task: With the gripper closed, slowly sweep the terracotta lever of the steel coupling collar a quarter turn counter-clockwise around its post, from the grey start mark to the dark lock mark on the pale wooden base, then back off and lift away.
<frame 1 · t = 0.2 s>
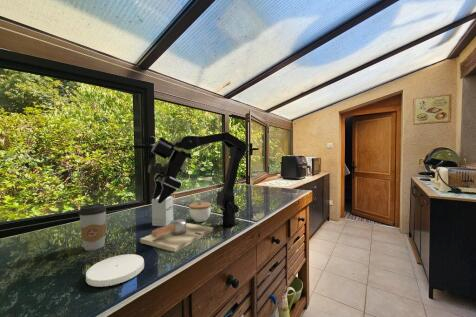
hand: (156, 200, 82), 15 cm above the counter, tool tilted 30°, fingers open, 9 cm apart
coffee cup: (94, 247, 78), on the counter
supplement box: (163, 224, 104), on the counter
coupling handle: (170, 230, 82), point 4 cm above the counter, hinge at 0.0°
lidded jar: (200, 220, 108), on the counter
plastic lid: (116, 275, 60), on the counter
coupling base: (178, 236, 86), on the counter
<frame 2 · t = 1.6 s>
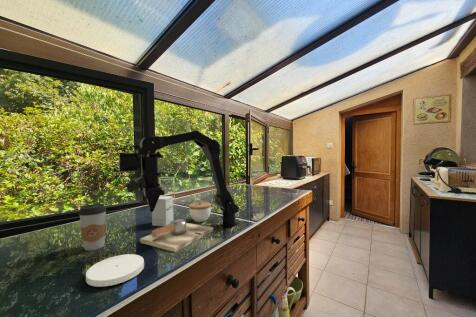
hand: (151, 211, 81), 12 cm above the counter, tool pointing down, fingers closed
nothing on the counter moved.
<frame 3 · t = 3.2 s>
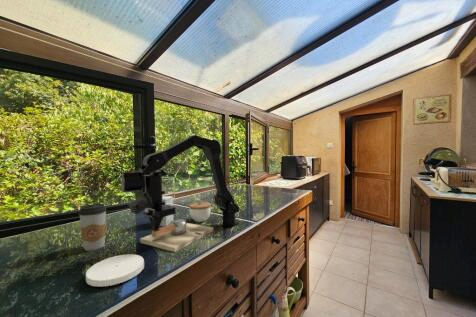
hand: (155, 231, 79), 5 cm above the counter, tool pointing down, fingers closed
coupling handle: (170, 230, 82), point 4 cm above the counter, hinge at 0.0°, touching gripper
everything else where it was.
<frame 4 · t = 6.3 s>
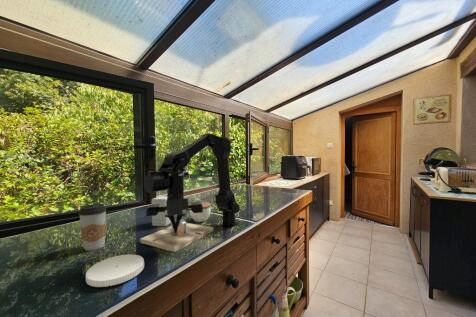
hand: (175, 232, 77), 5 cm above the counter, tool pointing down, fingers closed
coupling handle: (179, 230, 82), point 4 cm above the counter, hinge at 48.6°, touching gripper
everything else where it was.
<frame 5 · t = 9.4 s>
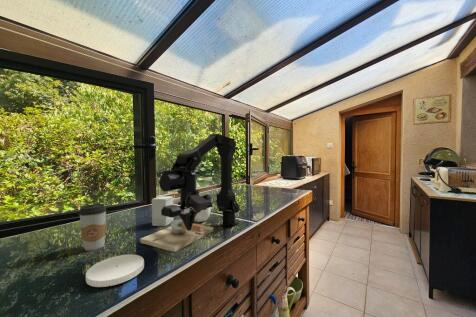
hand: (189, 230, 78), 5 cm above the counter, tool pointing down, fingers closed
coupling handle: (187, 228, 84), point 4 cm above the counter, hinge at 89.0°
everything else where it was.
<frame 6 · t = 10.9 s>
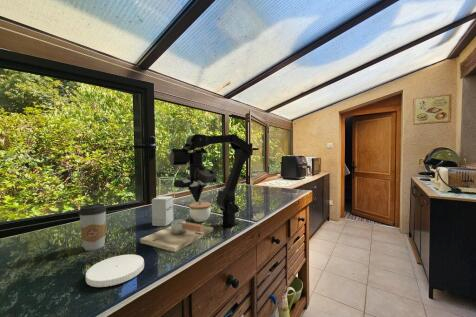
hand: (197, 201, 90), 13 cm above the counter, tool pointing down, fingers closed
nothing on the counter moved.
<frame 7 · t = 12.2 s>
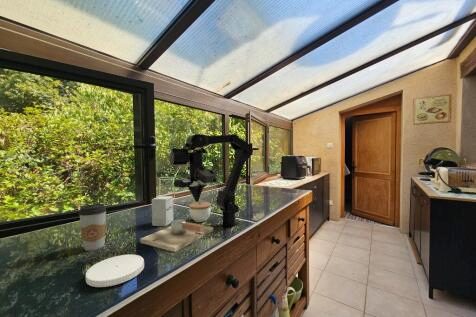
hand: (197, 201, 90), 13 cm above the counter, tool pointing down, fingers closed
nothing on the counter moved.
at the end: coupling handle at +89° (first picture: +0°); the gripper is holding nothing; supplement box moved 0.2 cm from its start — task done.
